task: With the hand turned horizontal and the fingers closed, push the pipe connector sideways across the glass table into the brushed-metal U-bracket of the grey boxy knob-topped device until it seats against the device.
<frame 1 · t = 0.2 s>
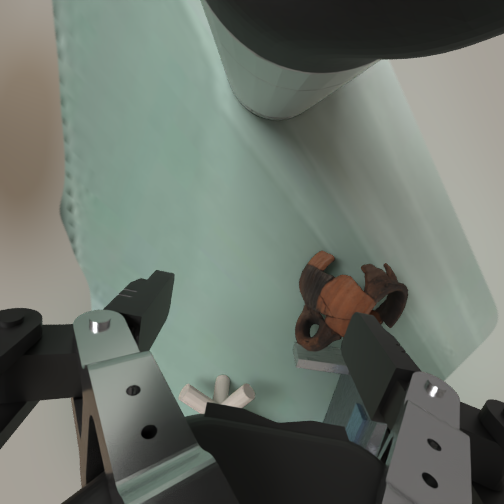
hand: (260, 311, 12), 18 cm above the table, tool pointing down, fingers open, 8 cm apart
pipe connector: (223, 379, 37), on the table
grey boxy knob-topped device: (292, 390, 37), on the table
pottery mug: (333, 289, 32), on the table
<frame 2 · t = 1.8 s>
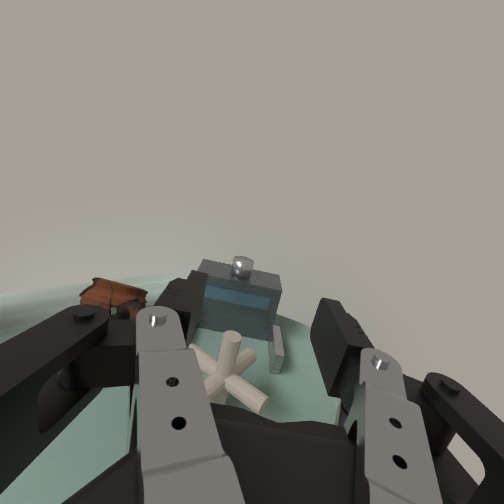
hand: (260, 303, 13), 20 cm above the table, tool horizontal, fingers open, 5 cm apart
pipe connector: (213, 415, 30), on the table
grey boxy knob-topped device: (224, 356, 39), on the table
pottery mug: (113, 331, 39), on the table
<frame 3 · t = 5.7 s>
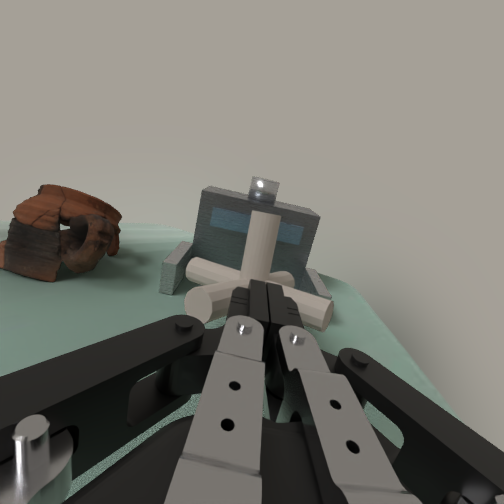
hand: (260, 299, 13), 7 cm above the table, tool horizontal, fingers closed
pipe connector: (236, 365, 19), on the table, touching gripper
grey boxy knob-topped device: (242, 301, 27), on the table
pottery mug: (69, 267, 27), on the table
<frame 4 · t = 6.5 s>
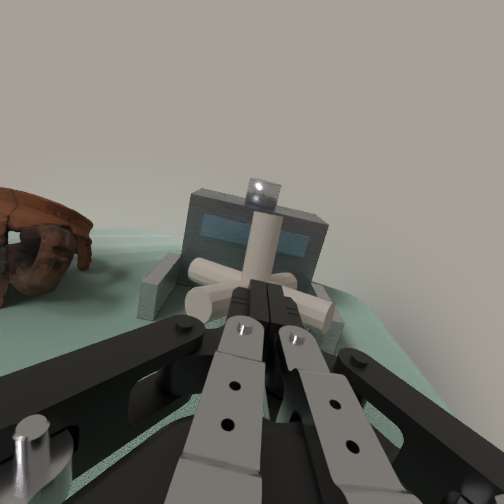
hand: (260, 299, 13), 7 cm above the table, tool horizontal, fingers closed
pipe connector: (237, 366, 19), on the table, touching gripper
grey boxy knob-topped device: (237, 326, 23), on the table
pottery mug: (27, 286, 22), on the table
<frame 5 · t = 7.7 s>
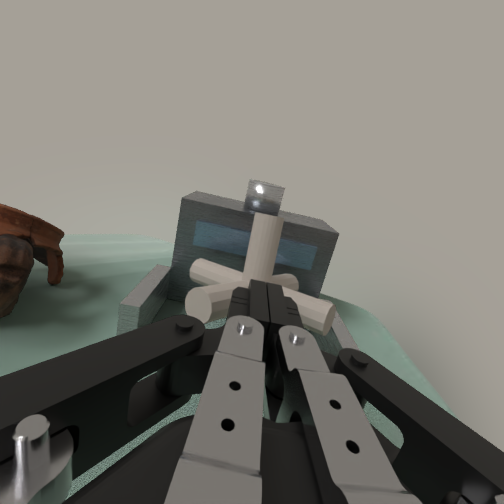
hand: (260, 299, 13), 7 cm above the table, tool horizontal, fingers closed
pipe connector: (238, 367, 19), on the table, touching gripper
grey boxy knob-topped device: (235, 352, 20), on the table
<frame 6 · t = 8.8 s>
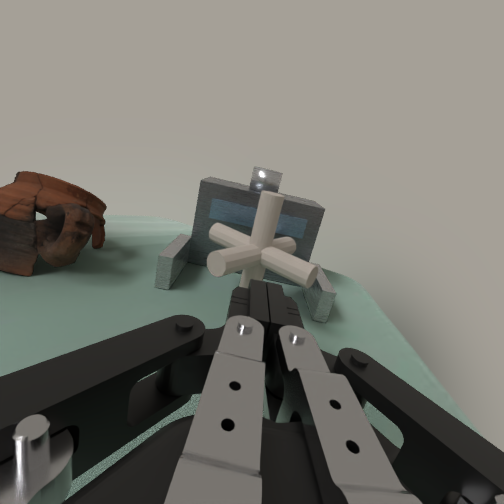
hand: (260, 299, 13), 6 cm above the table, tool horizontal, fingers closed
pipe connector: (244, 307, 25), on the table
grey boxy knob-topped device: (242, 297, 26), on the table
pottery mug: (50, 260, 25), on the table
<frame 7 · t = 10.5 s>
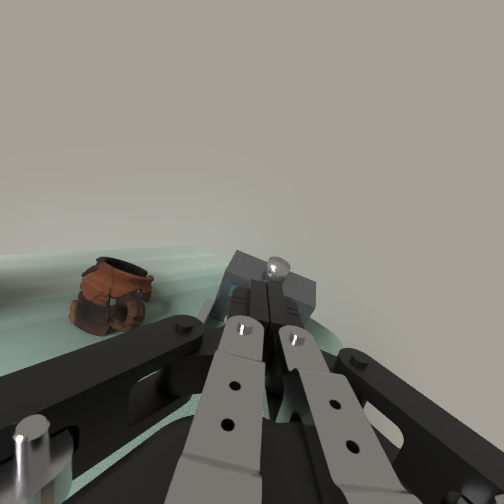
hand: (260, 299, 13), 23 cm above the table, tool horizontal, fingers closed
grey boxy knob-topped device: (240, 362, 37), on the table
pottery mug: (115, 314, 38), on the table
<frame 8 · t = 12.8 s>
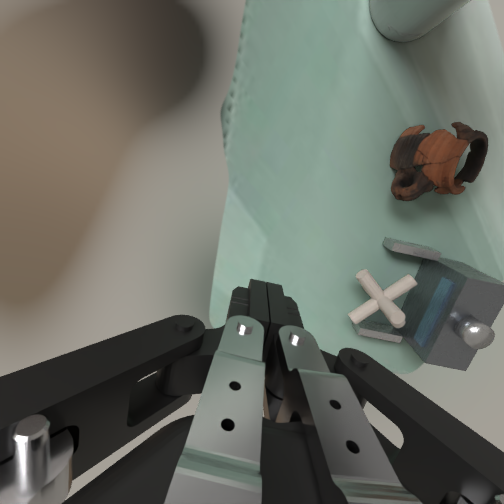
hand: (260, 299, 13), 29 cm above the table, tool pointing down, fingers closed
pipe connector: (367, 284, 45), on the table
grey boxy knob-topped device: (376, 284, 45), on the table
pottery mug: (416, 164, 39), on the table
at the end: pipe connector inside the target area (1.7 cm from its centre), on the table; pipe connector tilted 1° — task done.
